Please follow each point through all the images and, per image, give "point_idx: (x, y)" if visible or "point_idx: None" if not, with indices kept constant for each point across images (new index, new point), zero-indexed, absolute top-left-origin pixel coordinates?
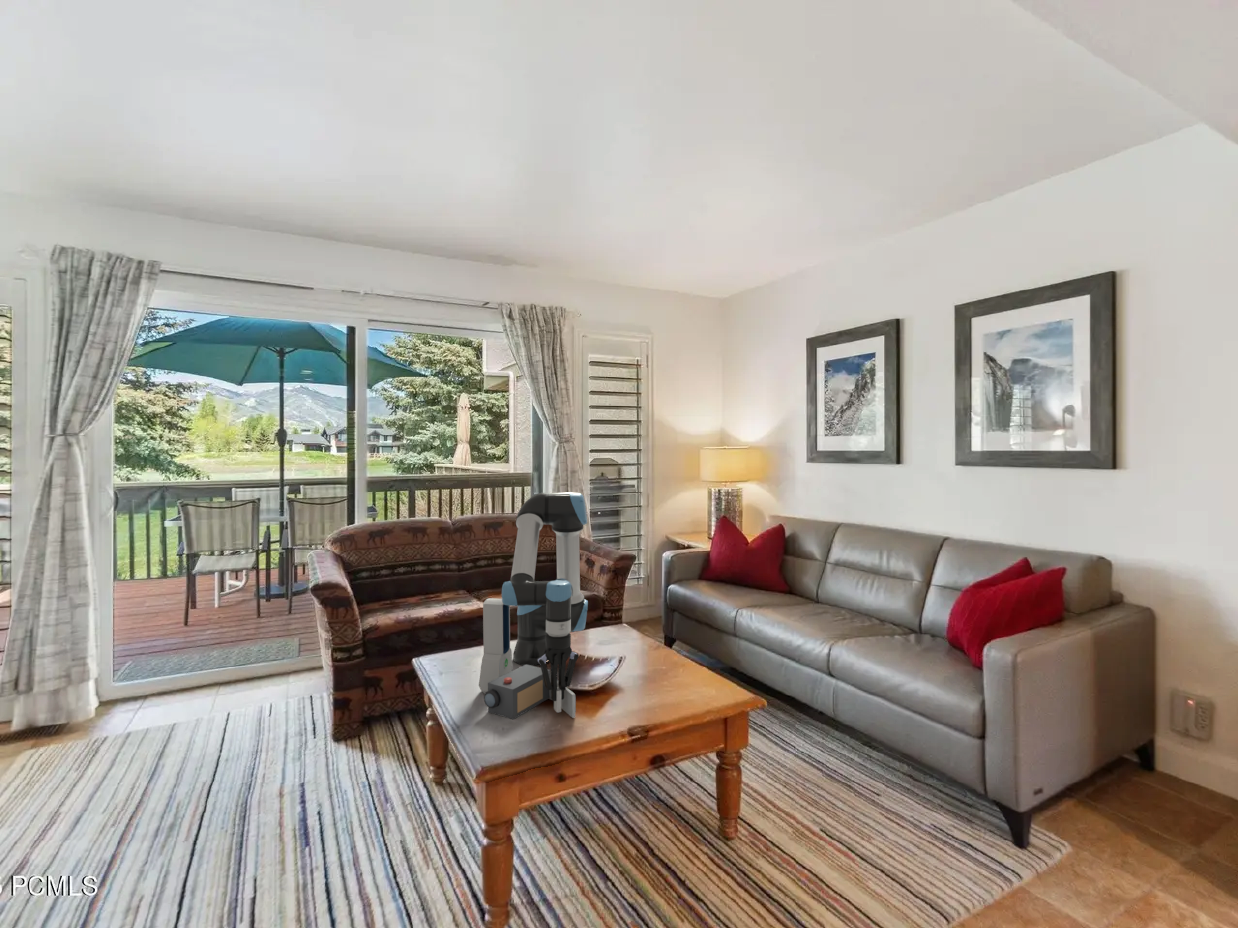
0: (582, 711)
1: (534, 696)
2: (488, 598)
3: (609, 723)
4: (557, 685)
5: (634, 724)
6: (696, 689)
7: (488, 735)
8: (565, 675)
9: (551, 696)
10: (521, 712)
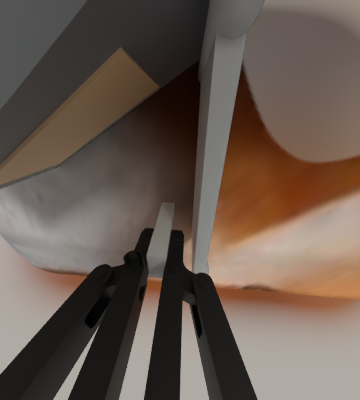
0: (231, 216)
1: (103, 119)
2: None
3: (236, 268)
4: (200, 180)
5: (264, 283)
6: None
7: (14, 208)
8: (204, 329)
9: (140, 238)
10: (75, 151)
